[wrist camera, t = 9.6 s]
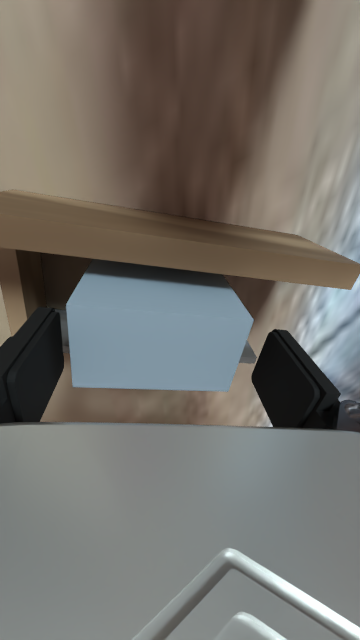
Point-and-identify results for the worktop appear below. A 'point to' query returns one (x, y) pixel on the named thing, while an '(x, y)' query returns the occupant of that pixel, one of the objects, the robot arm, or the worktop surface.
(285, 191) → the worktop surface
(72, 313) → the blue grey rectangular block
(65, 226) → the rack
